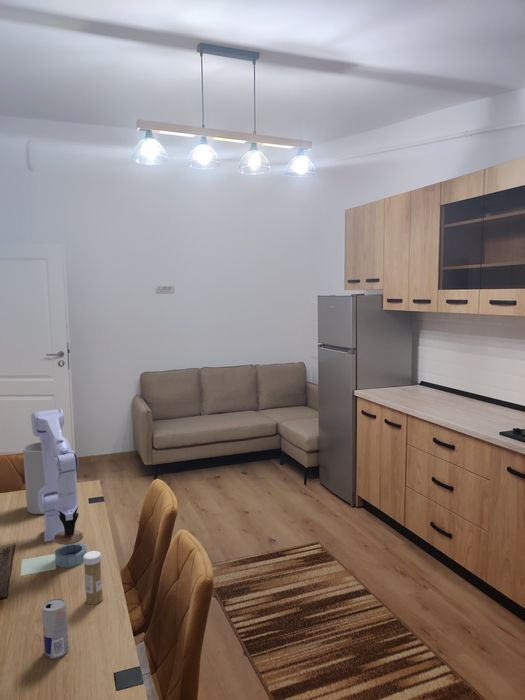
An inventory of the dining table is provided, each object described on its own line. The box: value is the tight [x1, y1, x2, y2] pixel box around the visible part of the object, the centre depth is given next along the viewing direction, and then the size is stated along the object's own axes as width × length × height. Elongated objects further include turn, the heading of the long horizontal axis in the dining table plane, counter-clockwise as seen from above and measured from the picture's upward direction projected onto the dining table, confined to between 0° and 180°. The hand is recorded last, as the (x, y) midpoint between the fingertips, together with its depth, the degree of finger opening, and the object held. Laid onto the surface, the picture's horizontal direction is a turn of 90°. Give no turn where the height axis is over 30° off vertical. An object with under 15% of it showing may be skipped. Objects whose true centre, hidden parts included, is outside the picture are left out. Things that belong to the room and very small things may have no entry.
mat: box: [20, 553, 57, 577], centre depth 164 cm, size 10×10×1 cm
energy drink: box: [41, 598, 70, 660], centre depth 124 cm, size 5×5×12 cm
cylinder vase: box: [22, 441, 58, 515], centre depth 204 cm, size 12×12×25 cm
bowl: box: [54, 542, 88, 569], centre depth 166 cm, size 9×9×4 cm
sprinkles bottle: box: [83, 550, 104, 605], centre depth 144 cm, size 5×5×14 cm
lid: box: [53, 529, 84, 546], centre depth 165 cm, size 8×8×4 cm
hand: (69, 532), depth 165 cm, fingers closed on lid, 3 cm apart
